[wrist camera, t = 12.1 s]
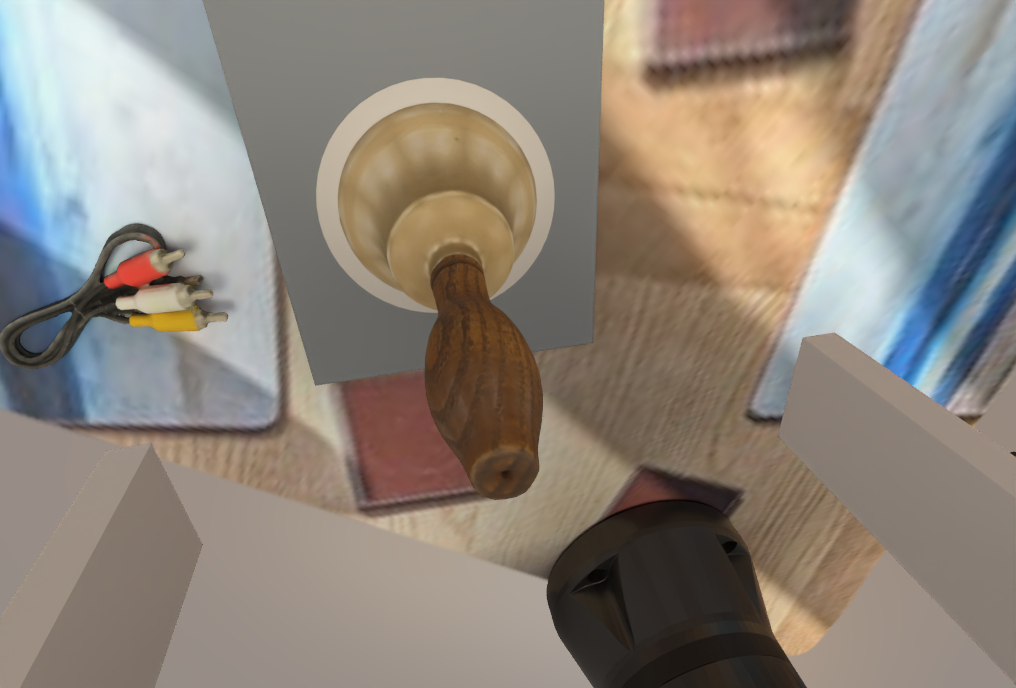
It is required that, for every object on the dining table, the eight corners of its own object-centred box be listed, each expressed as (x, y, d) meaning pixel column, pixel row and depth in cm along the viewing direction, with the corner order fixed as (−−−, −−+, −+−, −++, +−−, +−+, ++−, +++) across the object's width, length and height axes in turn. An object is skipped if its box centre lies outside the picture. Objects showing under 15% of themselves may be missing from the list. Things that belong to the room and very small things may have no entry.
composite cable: (34, 369, 25) (3, 401, 23) (-50, 278, 23) (-93, 305, 21) (242, 301, 26) (231, 328, 23) (184, 204, 23) (165, 224, 21)
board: (585, 331, 30) (593, 343, 29) (317, 371, 28) (315, 386, 27) (594, -27, 21) (606, -29, 20) (210, -5, 19) (200, -6, 18)
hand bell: (370, 314, 25) (360, 659, 12) (308, 125, 21) (181, 340, 7) (545, 274, 26) (720, 559, 13) (521, 83, 22) (754, 212, 8)
